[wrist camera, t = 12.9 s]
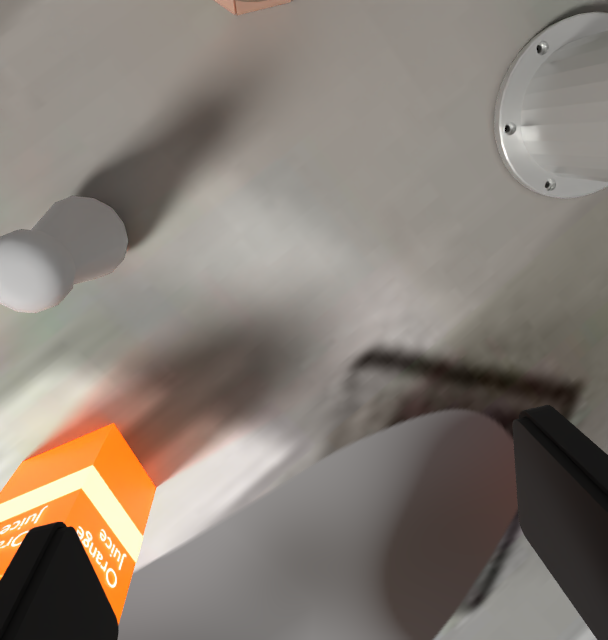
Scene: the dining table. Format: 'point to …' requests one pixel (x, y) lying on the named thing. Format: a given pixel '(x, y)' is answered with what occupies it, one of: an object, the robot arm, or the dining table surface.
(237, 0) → the lid
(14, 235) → the salt shaker
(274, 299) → the dining table surface
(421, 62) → the dining table surface
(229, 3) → the bowl
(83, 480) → the orange juice
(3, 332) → the dining table surface
